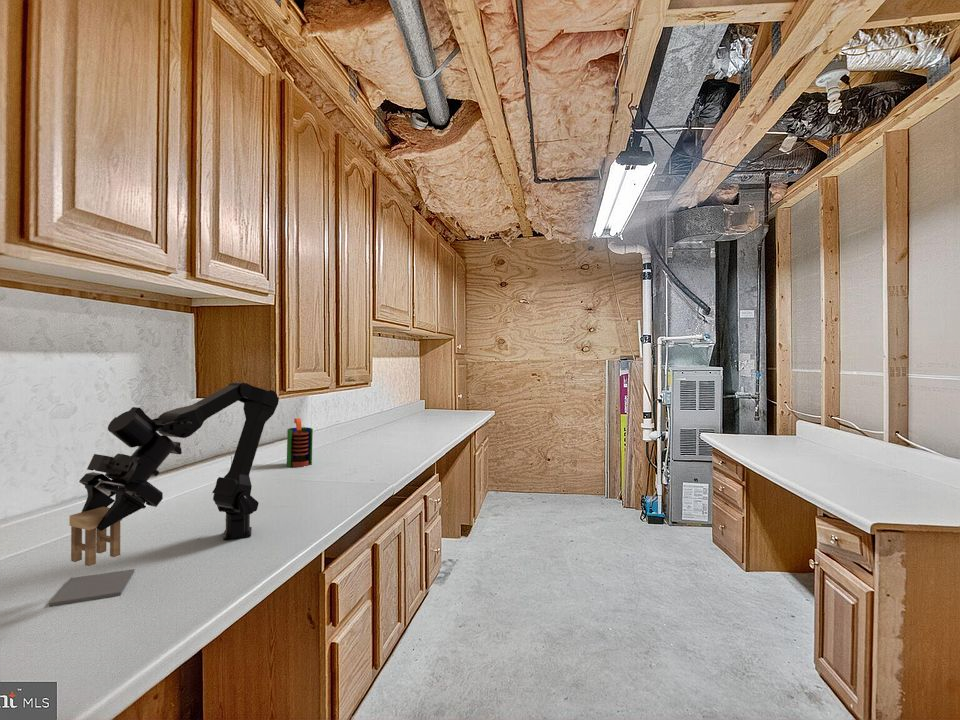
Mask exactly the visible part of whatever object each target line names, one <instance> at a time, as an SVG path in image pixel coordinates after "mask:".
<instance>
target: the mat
mask: <svg viewBox="0 0 960 720" xmlns="http://www.w3.org/2000/svg"><path fill="white" fill-rule="evenodd" d="M134 573H135V568H133V569H125V570H124V569H123V570H118V571H111V572H103V573H97V574H96V573H95V574H90V575H81V576H75V577H70V579H68V581H67V582H65V584H64V585H63V586H62V588H61V589H60V590H59V591H58V592H57V593H56V594H55V595H54V597H53V598H52V599H51V601H49V603H48V604H49V605H48V606H49V607H55V606H60V605H67V604H72V603H78V602H85V601H92V600H97V599H98V600H99V599H104V598H111V597H117V596H121V595H122V594H123V592H124V591H125V588H126V587H127V585H128V583H129V582H130V580H131V578H132V576H133V575H134Z"/></svg>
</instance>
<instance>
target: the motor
mask: <svg viewBox="0 0 960 720" xmlns="http://www.w3.org/2000/svg"><path fill="white" fill-rule="evenodd" d="M293 424H295V425H296V426H295V427H290V428H287V431H286V432H287V433H286V436H287V437H286V438H287V439H286V440H287V441H286V467H287V468H289V467H290V468H305V467H304V466H306V467H308V466H309V465H310V466H312V464H313V435H314V433H313V431H314V430H313V429H314V428H312V427H308V426H307V427H306V426H305V427H304V426H303V427H302V420H301V418H300V417H298V418H294V419H293Z"/></svg>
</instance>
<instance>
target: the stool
mask: <svg viewBox="0 0 960 720" xmlns="http://www.w3.org/2000/svg"><path fill="white" fill-rule="evenodd" d="M110 508H111V507H109V506H108V507H100V508H96V509H92V510H89V511H85V512H82V511H81V512H77V513H73V514H70V515H69V519H68V520H69V521H68V522H69V525H68V526H70V527H71V530H70V535H71V537H70V542H71V543H70V547H71V548H70V550H71V551H70V561H71V562H72V563H76V562H80V561H82V560H83V552H84V565H85V566H88V567H90V566H93V565H97V554H103V553H106V552H107V543H109V556H110V557H111V558H116V557H118V556H121V521H123V519H121V520H119V521H118V522H116V523H114V524H113V525H111V526H109V535H107V534H108V533H107V531H108V530H107V528H108V527H107V528H106V529H104V530H102V531H100V530H98V529H97V526H98V525H99V523H100V521H101V520H102V519H103V517H104V516H105V514H106V513H107V512H108V510H109V509H110ZM83 530H84V543H83Z"/></svg>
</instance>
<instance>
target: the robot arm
mask: <svg viewBox="0 0 960 720" xmlns="http://www.w3.org/2000/svg"><path fill="white" fill-rule="evenodd" d="M279 401H280V398H279V397H278V394H277V392H276V391H274V390H272V389H264V388H260V387H257V386H254V385H252V384H249V383H247V382H244V381H243V382H239V381H238V382H237V381H234V382H230V383H228V385H226V386H225V387H223V388H221V389H218V390H217V391H215V392H213V393H211V394H210V395H208V396H206V397H204V398H202V399H200V400H199V401H196V402H195V403H192V404H191V405H186V406H182V407H177V408H173V409H171V410H168V411H164V412H162V413H161V414H160V415H159V416H158V417H156V418H153V419H152V418H151V417H149V416H148V415H147V414H146V413H145V411H144V409H142V408H141V407H135V406H132V407H131V408H130V409H129V410H127V411H125V412H123V413H120V414H119V415H118V416H116V417H113V419H112V420H111V421H110V422H109V424H108V426H107V431H108V432H109V433H111V434H112V435H113V436H115V437H116V438H117V439H118V440H120V441H121V442H122V443H124V444H125V445H126V446H127V447H128V448H131V449H132V448H137V449H136V450H134V452H133V453H131V455H128V454H125V453H117V454H115V455H114V456H109V455H105V454H103V455H102V454H97V453H94V454H93V455H92V458H91V460H90V461H89V463H88V465H87V468H86V470H88V471H93V472H88V473H85V474H84V475H83V476H82V478H80V479H79V481H78V482H79V483H80V484H81V485H83V486H84V488H85V489H86V492H87V498H86V501H85V503H84V505H83V508H82V509H81V512H85V511H89V510H92V509H96V508H100V507H108V508H110V509H109V510H108V512H107V513H106V514H105V516H104V517H103V519H102V520H101V521H100V523H99V525H98V526H97V529H98V530H100V531H102V530H104V529H106V528H110V526H111V525H113V524H114V523H116V522H118V521H119V520H121V519H122V520H123V519H125V518H127V517H128V516H131V515H132V514H135V513H137V512H138V511H140V510H142V509H146V507H147V506H149V507H155V508H157V507H158V506H159V504H160V502H161V503H162V500H163V499H164V498H163V494H164V493H163V491H162V490H160V489H158V488H157V487H155V486H154V485H153V484H151V482H149V481H148V480H149V479H150V478H151V477H153V476H154V477H158V475H159V474H160V471H159V470H158V469H159V467H161V465H162V463H163V462H164V461H165V460H166V459H167V457H168V456H169V455H170V454H173V455H182V454H183V453H182V451H183V450H182V447H181V442H180V441H173V440H172V438H178V439H179V438H180V439H181V438H182V439H186V438H189V437H190V436H192V435H193V434H195V433H196V432H197V431H198V430H199V429H201V428H202V426H203V424H204V422H205V421H207V420H208V418H211V417H212V416H214V415H216V414H218V413H219V412H221V411H222V410H224V409H226V408H228V407H229V406H231V405H233V404H234V403H237V402H240V403H243V407H242V408H243V412H244V413H243V414H244V417H245V421H244V424H243V427H242V431H241V434H240V436H239V439H238V443H237V446H236V448H235V451H234V452H235V453H234V456H233V458H232V460H231V461H232V462H231V465H230V468H229V471H228V472H227V473H226V474H225V475H224V477H222V476H221V477H220V476H219V477H218V478H217V480H216V482H215V486H214V489H213V490H212V494H213V496H212V497H213V498H212V500H213V502H214V503H215V505H216V506H217V510H218V512H221V513H225V529H224V532H223V537H222V540H224V541H225V540H231V539H233V540H234V539H239V538H241V539H242V538H249V537H252V531H253V530H252V526H251V522H250V521H251V515H252V514H253V513H254V512H256V511H257V510H258V507H259V504H260V503H259V501H258V500H257V499H255V498H254V496H252V495H251V494H252V487H253V486H252V483H251V481H252V480H251V478H250V474H251V471H252V470H251V469H252V466H253V464H254V461H255V460H254V459H255V457H256V454H257V451H258V447H259V444H260V440H261V437H262V434H263V430H264V428H265V424H266V423H267V421H269V419H270V418H271V417H273V416H274V414H275V412H276V409H277V408H278V404H279ZM171 437H172V438H171ZM94 471H96V472H94ZM100 472H101V473H100ZM103 473H105V474H103ZM114 496H115V499H114V498H112V497H114ZM145 504H146V505H147V506H146V505H145ZM110 505H111V506H110ZM109 506H110V507H109Z"/></svg>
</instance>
